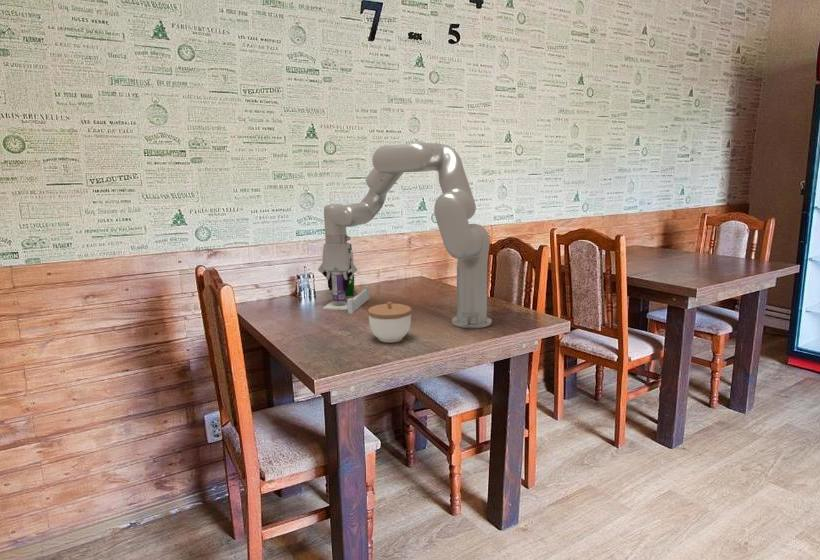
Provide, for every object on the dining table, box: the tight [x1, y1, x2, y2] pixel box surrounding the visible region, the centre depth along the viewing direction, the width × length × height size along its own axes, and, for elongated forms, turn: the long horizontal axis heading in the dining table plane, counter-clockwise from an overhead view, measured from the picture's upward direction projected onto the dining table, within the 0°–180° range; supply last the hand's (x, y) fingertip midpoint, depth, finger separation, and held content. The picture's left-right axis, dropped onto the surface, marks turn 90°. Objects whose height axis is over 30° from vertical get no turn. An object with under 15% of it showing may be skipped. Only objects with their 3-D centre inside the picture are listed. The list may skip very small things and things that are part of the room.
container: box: [331, 267, 347, 303], centre depth 198 cm, size 5×5×15 cm
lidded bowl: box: [367, 301, 412, 344], centre depth 161 cm, size 13×13×11 cm
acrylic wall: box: [346, 285, 370, 315], centre depth 200 cm, size 22×2×5 cm, turn 168°
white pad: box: [322, 300, 348, 311], centre depth 200 cm, size 9×9×1 cm
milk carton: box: [345, 243, 355, 297], centre depth 217 cm, size 9×9×20 cm
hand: (338, 289), depth 199 cm, fingers closed on container, 4 cm apart
